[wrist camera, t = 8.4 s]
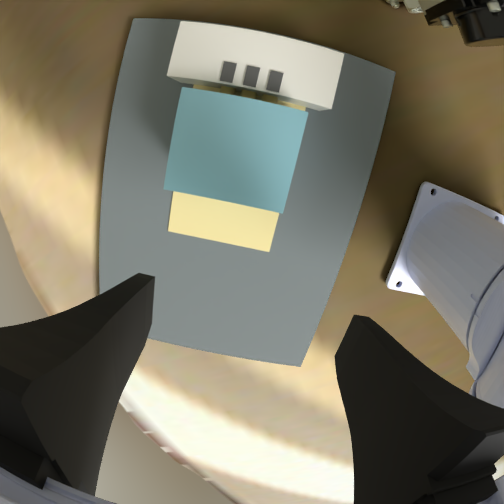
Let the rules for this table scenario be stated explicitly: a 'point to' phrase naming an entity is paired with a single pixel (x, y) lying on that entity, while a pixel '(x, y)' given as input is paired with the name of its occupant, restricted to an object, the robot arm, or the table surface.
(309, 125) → the mat
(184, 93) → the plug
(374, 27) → the table surface
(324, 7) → the table surface
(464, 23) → the pneumatic valve
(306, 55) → the header
